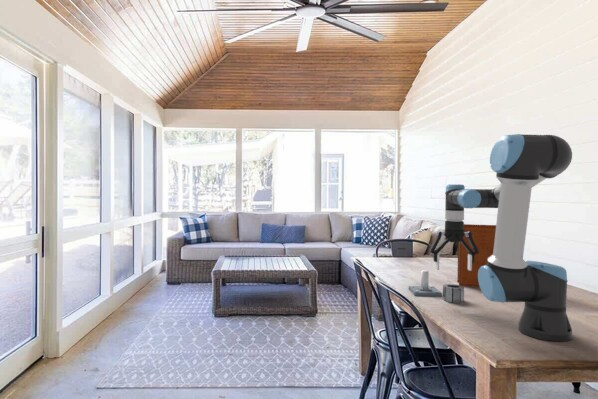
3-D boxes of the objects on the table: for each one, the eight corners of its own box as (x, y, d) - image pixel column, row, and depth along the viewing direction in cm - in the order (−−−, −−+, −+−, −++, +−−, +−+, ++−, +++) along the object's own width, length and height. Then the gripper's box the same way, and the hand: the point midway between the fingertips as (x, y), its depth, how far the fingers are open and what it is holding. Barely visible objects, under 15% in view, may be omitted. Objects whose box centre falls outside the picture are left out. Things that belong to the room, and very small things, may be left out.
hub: (466, 303, 164) (466, 288, 164) (446, 302, 164) (446, 288, 164) (459, 297, 172) (459, 284, 172) (440, 297, 172) (441, 283, 172)
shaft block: (441, 296, 174) (442, 274, 174) (414, 295, 175) (414, 273, 175) (434, 289, 186) (434, 268, 186) (408, 289, 187) (408, 268, 187)
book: (458, 285, 195) (459, 225, 195) (457, 281, 203) (458, 224, 202) (510, 289, 188) (511, 226, 188) (506, 285, 196) (507, 225, 196)
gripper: (480, 220, 171) (479, 268, 171) (422, 219, 172) (421, 267, 173) (488, 221, 163) (486, 272, 164) (427, 220, 165) (426, 270, 165)
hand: (453, 269), depth 168 cm, fingers open, 13 cm apart
